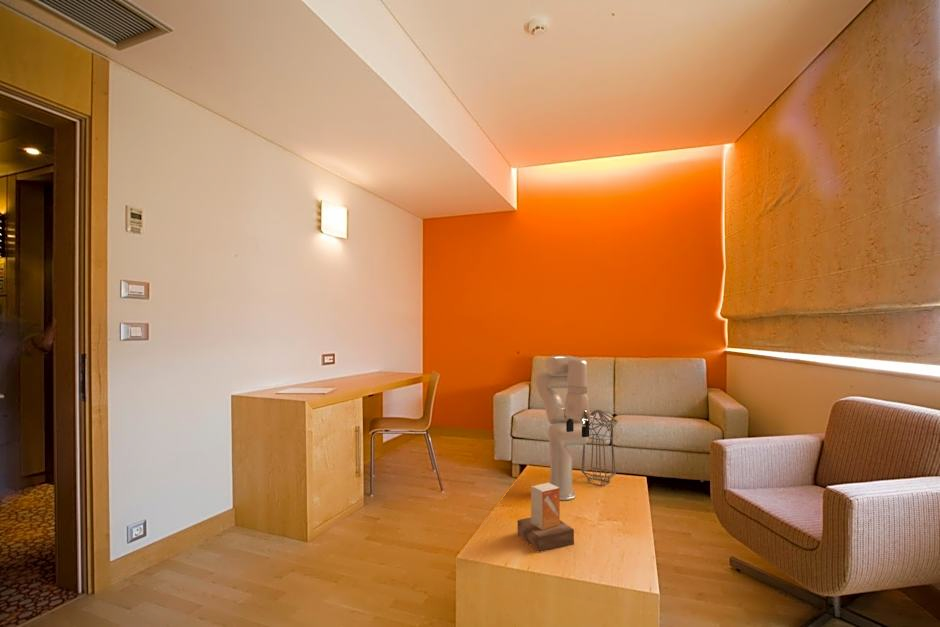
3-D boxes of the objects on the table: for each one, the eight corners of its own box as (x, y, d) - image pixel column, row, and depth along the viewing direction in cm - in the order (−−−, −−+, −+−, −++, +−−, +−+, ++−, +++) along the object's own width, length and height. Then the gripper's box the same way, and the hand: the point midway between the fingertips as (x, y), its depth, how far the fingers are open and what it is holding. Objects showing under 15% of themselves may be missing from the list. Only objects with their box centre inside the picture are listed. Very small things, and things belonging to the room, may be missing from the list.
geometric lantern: (576, 482, 210) (575, 409, 213) (592, 475, 221) (591, 406, 224) (606, 490, 199) (605, 413, 202) (621, 482, 210) (620, 409, 213)
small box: (542, 530, 146) (542, 491, 147) (530, 523, 152) (530, 486, 152) (560, 525, 150) (560, 487, 151) (548, 518, 156) (548, 482, 156)
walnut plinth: (517, 534, 154) (517, 520, 155) (550, 527, 160) (550, 513, 160) (539, 552, 141) (539, 536, 142) (573, 544, 147) (573, 529, 147)
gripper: (556, 388, 178) (556, 430, 177) (583, 393, 162) (584, 439, 161) (571, 387, 181) (571, 429, 180) (599, 392, 165) (599, 438, 164)
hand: (577, 434), depth 170 cm, fingers open, 9 cm apart
